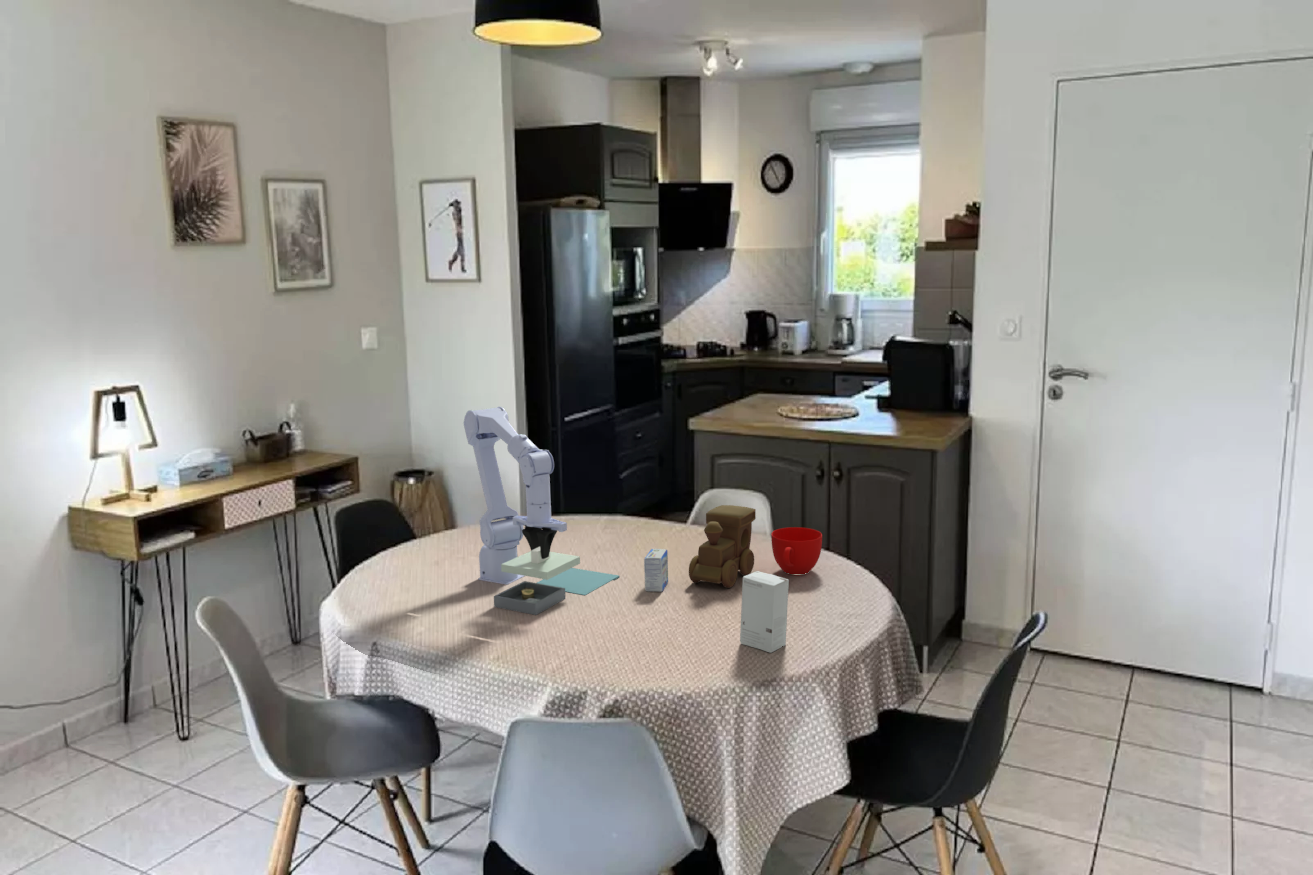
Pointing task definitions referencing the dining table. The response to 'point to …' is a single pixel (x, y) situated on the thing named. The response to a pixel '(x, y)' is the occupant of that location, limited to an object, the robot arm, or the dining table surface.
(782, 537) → the ceramic cup
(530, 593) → the bowl
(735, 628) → the dining table surface
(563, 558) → the lid
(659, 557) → the medicine box
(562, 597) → the tub
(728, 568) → the wooden toy train
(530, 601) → the steel block
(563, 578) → the mat
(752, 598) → the skincare box
